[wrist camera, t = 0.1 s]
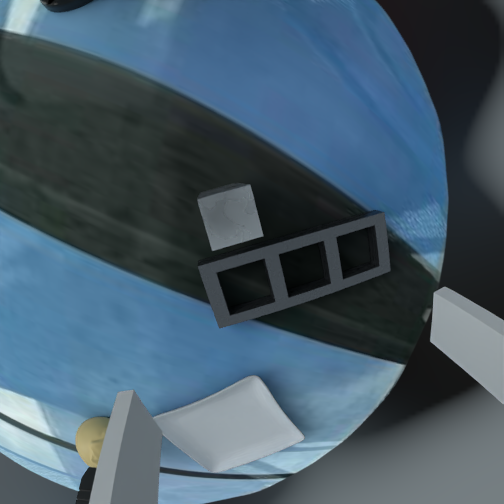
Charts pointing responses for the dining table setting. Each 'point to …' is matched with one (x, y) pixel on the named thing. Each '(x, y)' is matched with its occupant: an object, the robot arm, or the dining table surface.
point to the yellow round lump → (91, 439)
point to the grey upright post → (229, 215)
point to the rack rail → (270, 256)
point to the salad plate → (230, 426)
